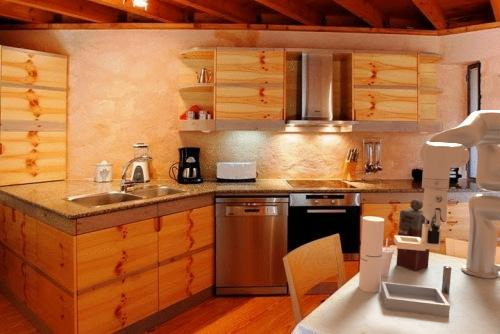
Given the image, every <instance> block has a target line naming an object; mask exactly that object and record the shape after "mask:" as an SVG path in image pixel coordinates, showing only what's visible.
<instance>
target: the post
mask: <svg viewBox="0 0 500 334" xmlns="http://www.w3.org/2000/svg"><path fill="white" fill-rule="evenodd" d="M451 276H452V267H451V266H448V265H444V266H443V270H442V283H441V293H442V294H446V295H449V294H450V291H451V289H450V287H451V279H452V278H451Z"/></svg>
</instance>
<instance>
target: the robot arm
mask: <svg viewBox="0 0 500 334" xmlns="http://www.w3.org/2000/svg"><path fill="white" fill-rule="evenodd" d="M473 147H475V149H476V151H477V167H476V174H475V175H476V176H475V185H476V187H477V189H479V190H481V191H485V192H490V193H491V192H492V193H498V194H500V110H478V111H474V112H472V113H470V114H469V115H468V116H467V117H465V119H464V120H463V121H462V122H460V124H459V125H458V126H456V127H452V128H449V129H446V130H444V131H441V132H438V133H436V134H434V135H432V136H430V137H429V138H428V139H427V140H426V141H425V142H424V143H423V145H422V146H421V148H420V151H419V160H420V161H421V163H423V165H422V167H423V168H422V177H421V178H422V181H421V189H424V192H423V200H422V203H423V207H422V210H423V216H424V217H425V224H429V230H428V237H427V243H429V244H439V234H440V227H441V225H442V223H446V222H447V219H448V218H447V217H448V216H447V214H448V211H447V210H448V193H447V192H448V190H449V189H450V179H451V178H450V177H451V168H455V169H457V168H462V167H464V166H465V165H467V163H468V162H469V160H470V157H471V156H470V155H471V154H470V150H469V149H470V148H473ZM468 212H469V230H468V242H467V251H466V262H465V263H466V264H462V265H461V267H460V269H461V270H462V271H463V272H464V273H465V274H467V275H469V276H472V277H476V278H482V279H497V278H499V272H500V264H497V263H496V252H497V244H498V233H499V232H498V228H497V226H496V225H495V223H494V221H496V222H500V195H495V194H493V195H492V194H487V193H478V194H474V195H472V196H471V197H470V198H469V201H468ZM496 277H497V278H496Z"/></svg>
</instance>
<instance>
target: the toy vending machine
mask: <svg viewBox="0 0 500 334" xmlns="http://www.w3.org/2000/svg"><path fill="white" fill-rule="evenodd" d="M409 206H410V208H406V209H401V210H400V211H399V221H398V231H397V235H398V236H410V237H420V238H422V225H423V224H425V217H424V216H423V200H420V199H418V198H417V199H413V200H411V201H410V205H409ZM396 249H397V252H396V266H398V267H401V268H404V269H408V270H410V271H413V272H415V273H417V272H420V271H423V270H425V269H428V268H429V260H430V259H429V257H430V249H426V251H421V250H410V249H399V248H397V247H396Z"/></svg>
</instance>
